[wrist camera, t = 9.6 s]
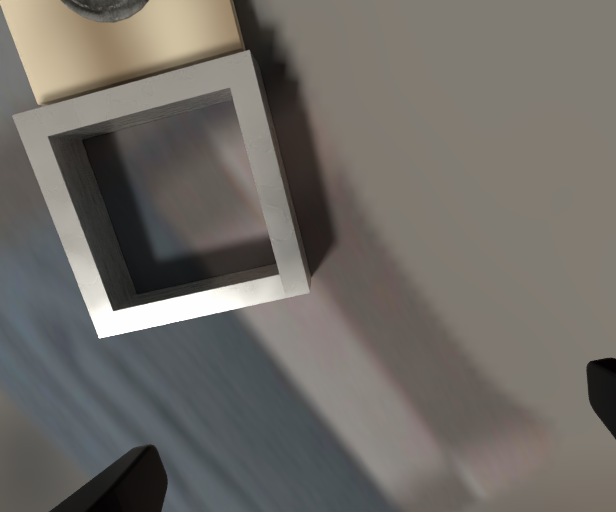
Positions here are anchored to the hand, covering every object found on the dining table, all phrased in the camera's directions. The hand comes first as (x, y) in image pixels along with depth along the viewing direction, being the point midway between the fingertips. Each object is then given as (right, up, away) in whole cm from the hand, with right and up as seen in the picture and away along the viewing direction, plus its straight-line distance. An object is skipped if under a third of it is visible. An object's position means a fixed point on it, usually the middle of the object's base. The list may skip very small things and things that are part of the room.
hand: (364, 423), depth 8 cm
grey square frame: (-8, +6, +12) cm, 16 cm away
